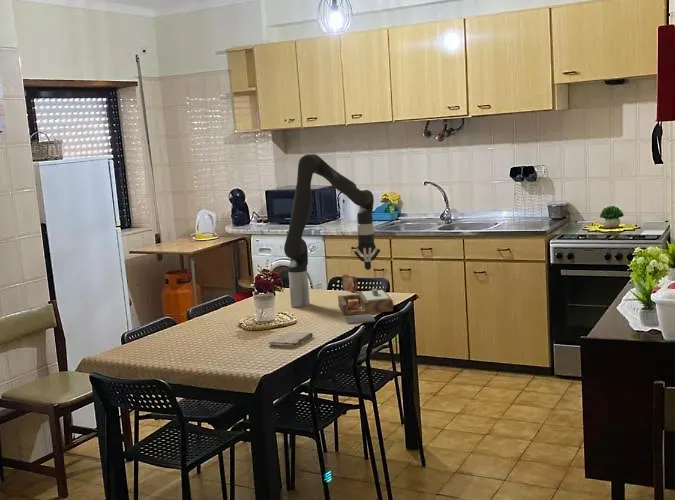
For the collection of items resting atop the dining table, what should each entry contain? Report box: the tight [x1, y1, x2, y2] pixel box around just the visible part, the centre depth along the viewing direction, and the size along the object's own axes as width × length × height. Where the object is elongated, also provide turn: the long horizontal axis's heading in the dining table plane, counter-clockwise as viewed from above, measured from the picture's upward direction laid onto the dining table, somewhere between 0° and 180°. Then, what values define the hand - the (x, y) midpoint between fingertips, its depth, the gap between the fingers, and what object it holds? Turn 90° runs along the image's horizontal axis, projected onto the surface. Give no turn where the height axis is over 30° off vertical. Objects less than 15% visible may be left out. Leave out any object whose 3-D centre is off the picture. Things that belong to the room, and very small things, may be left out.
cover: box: [361, 288, 390, 302], centre depth 363 cm, size 10×19×3 cm, turn 6°
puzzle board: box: [337, 290, 394, 317], centre depth 363 cm, size 23×21×5 cm
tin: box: [341, 274, 358, 293], centre depth 406 cm, size 15×3×8 cm, turn 25°
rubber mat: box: [344, 313, 376, 325], centre depth 342 cm, size 12×12×1 cm
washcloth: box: [268, 331, 314, 349], centre depth 313 cm, size 12×18×3 cm, turn 157°
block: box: [348, 299, 360, 311], centre depth 362 cm, size 4×4×4 cm
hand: (367, 269), depth 361 cm, fingers closed
